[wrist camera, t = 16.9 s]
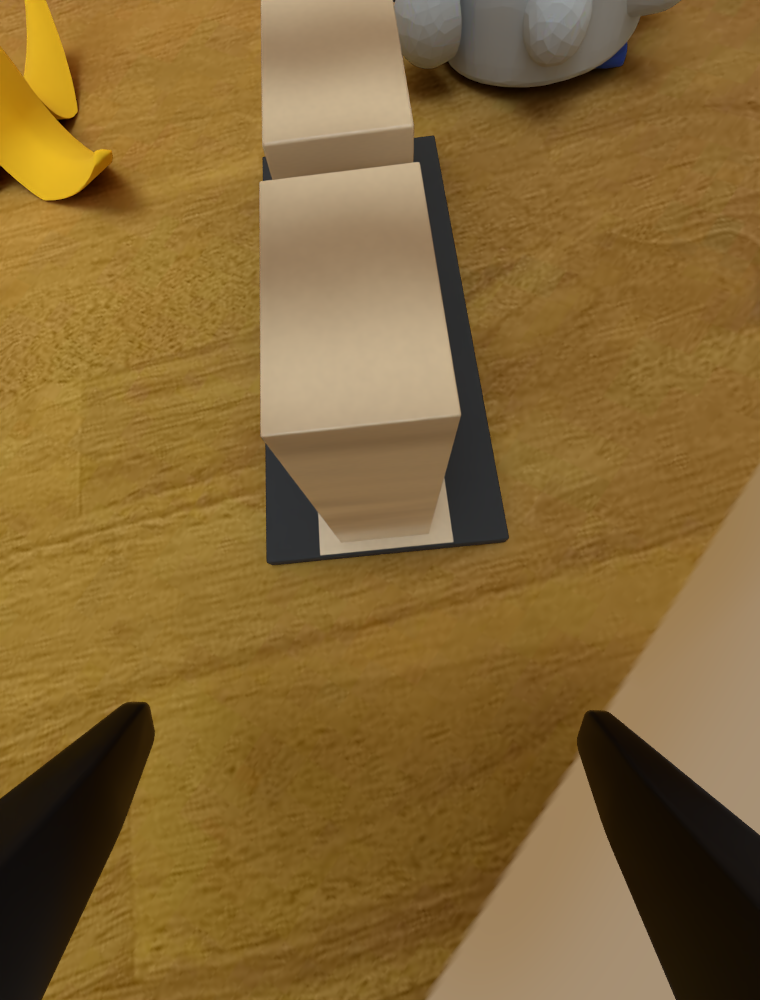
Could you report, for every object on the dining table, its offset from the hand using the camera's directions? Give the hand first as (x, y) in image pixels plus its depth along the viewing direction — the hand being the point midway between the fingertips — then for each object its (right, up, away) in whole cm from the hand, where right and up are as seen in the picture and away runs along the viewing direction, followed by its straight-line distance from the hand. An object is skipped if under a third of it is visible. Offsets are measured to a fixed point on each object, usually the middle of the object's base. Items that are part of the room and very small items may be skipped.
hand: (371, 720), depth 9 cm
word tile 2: (-1, +14, +14) cm, 20 cm away
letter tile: (0, +6, +11) cm, 13 cm away
